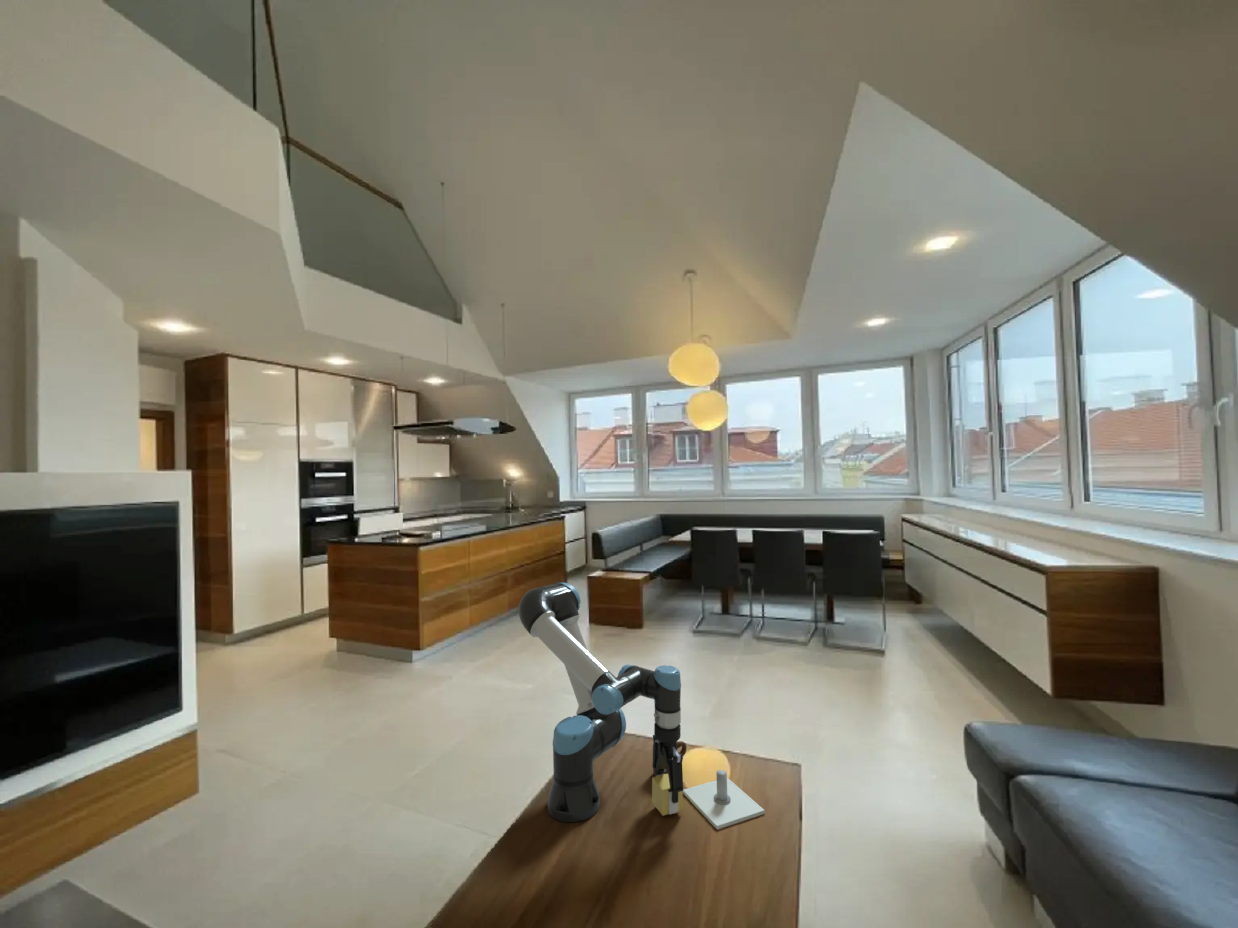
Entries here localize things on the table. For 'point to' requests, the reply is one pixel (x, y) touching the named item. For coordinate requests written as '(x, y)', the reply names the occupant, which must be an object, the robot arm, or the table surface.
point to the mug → (678, 752)
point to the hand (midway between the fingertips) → (667, 804)
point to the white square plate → (723, 802)
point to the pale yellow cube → (663, 794)
